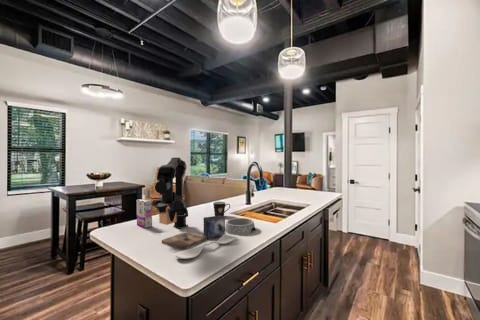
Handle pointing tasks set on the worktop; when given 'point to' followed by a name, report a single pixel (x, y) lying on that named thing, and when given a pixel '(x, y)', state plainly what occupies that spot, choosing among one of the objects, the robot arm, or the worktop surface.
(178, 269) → the worktop surface
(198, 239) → the base plate
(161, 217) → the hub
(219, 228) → the small box
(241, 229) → the dog bowl
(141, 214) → the candy bar box
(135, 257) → the worktop surface
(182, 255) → the spoon
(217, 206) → the coffee mug
